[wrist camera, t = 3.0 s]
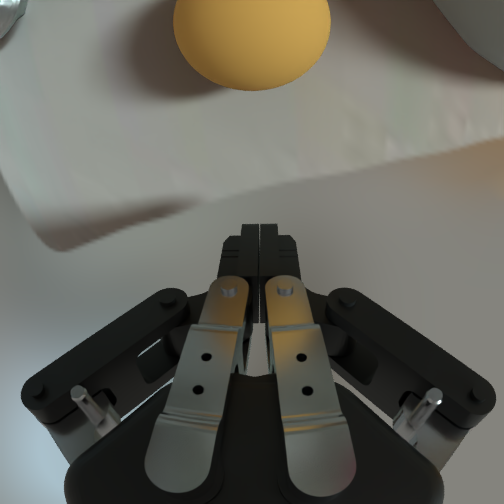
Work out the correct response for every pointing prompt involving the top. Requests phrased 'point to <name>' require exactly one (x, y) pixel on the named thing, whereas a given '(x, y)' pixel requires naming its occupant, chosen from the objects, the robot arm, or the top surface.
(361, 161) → the top surface
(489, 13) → the lumpy-topped squat cylinder
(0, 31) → the screw
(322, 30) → the ball
